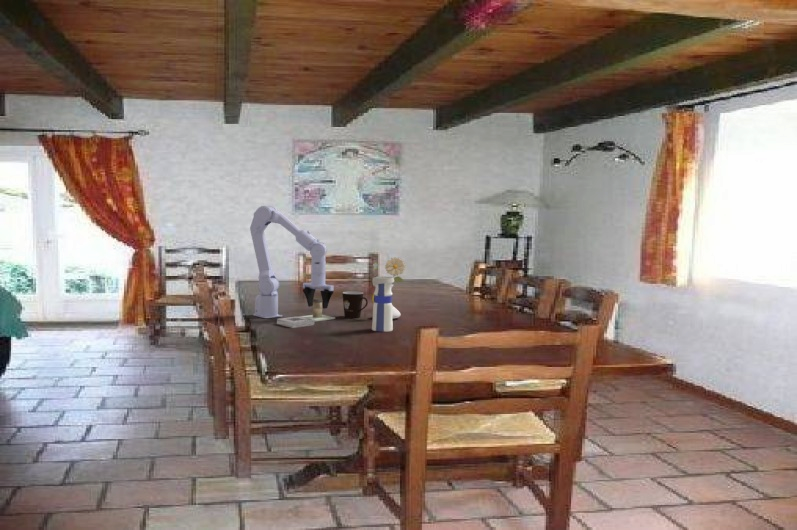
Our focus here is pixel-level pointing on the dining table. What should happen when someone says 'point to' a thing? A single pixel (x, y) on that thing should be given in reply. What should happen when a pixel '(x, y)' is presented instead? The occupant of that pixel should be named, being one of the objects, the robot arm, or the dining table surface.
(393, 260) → the flower in vase
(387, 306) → the water bottle
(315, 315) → the tan two-tone cylinder
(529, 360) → the dining table surface
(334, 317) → the mat
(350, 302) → the coffee mug
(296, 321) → the square metal frame
